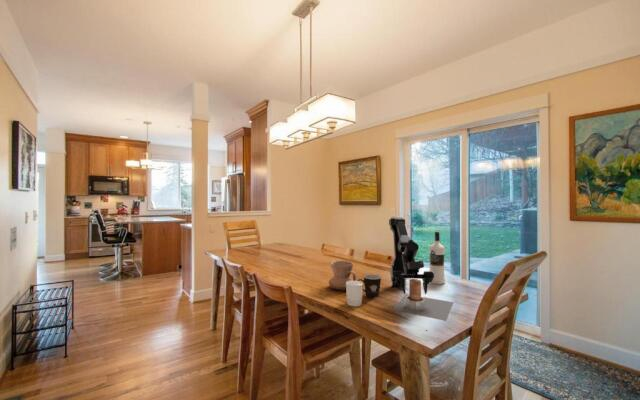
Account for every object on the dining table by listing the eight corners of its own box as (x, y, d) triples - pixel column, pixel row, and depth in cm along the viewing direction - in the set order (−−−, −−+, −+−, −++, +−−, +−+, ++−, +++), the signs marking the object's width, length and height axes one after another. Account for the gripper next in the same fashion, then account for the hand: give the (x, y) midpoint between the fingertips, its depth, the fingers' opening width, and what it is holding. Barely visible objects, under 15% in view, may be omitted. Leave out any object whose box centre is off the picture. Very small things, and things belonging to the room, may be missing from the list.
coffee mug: (382, 295, 150) (382, 275, 150) (378, 300, 142) (378, 280, 142) (360, 292, 155) (360, 273, 155) (355, 297, 147) (355, 277, 147)
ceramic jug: (321, 287, 163) (322, 262, 163) (340, 282, 173) (340, 258, 172) (345, 296, 150) (345, 268, 149) (363, 290, 159) (364, 264, 159)
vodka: (448, 283, 171) (449, 232, 171) (436, 285, 168) (436, 233, 167) (436, 279, 180) (437, 230, 179) (424, 281, 176) (425, 231, 176)
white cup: (344, 301, 141) (344, 280, 141) (360, 300, 142) (360, 280, 142) (347, 307, 133) (347, 285, 133) (364, 307, 134) (364, 285, 134)
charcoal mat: (391, 311, 128) (391, 309, 128) (406, 296, 149) (406, 294, 149) (446, 323, 117) (446, 320, 117) (453, 304, 138) (453, 302, 138)
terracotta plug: (406, 306, 132) (407, 280, 132) (413, 304, 135) (413, 278, 135) (416, 310, 128) (416, 282, 128) (423, 307, 131) (423, 280, 131)
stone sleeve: (402, 308, 130) (402, 299, 130) (407, 302, 137) (407, 294, 137) (422, 312, 125) (422, 303, 125) (426, 306, 133) (426, 297, 133)
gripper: (392, 253, 136) (397, 284, 125) (433, 254, 135) (441, 285, 124) (388, 266, 144) (393, 296, 133) (427, 267, 143) (435, 297, 132)
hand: (415, 293), depth 131 cm, fingers open, 9 cm apart
